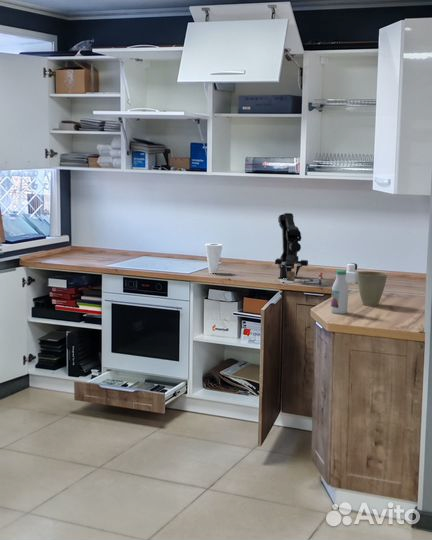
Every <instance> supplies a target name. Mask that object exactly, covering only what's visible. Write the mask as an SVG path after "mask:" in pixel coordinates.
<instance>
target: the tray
mask: <svg viewBox="0 0 432 540" xmlns="http://www.w3.org/2000/svg"><path fill="white" fill-rule="evenodd" d="M302 281H303V280H302V279H297V278H295V281H287V278H286V279H281V278H279V283H280V282H285V283H284V284H286V283H289V284H290V283H291V284H293V283H294V284H295V283H296V282H302Z"/></svg>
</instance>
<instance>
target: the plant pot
mask: <svg viewBox="0 0 432 540" xmlns="http://www.w3.org/2000/svg"><path fill="white" fill-rule="evenodd" d="M387 277H388V274H387V273H386V272H381V271H358V272H357V280H358V282H357V287H358V291H359V295H360V299H361V302H362V305H363V306H367V307H368V306H369V307H376V306H379V304H380V300H381V299H382V296H383V293H384V290H385V286H386V283H387Z"/></svg>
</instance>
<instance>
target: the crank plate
mask: <svg viewBox="0 0 432 540" xmlns="http://www.w3.org/2000/svg"><path fill="white" fill-rule="evenodd" d="M295 283H297V284H303V285H304V284H305V285H308V286H309V285H310V286H314V287H315V286H316V287H323V286H327V285H333V283H331V282H324V281H322V280H321V279H319V283H318V284H308V283H304V280H302V282H295Z"/></svg>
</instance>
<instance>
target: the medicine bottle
mask: <svg viewBox="0 0 432 540" xmlns="http://www.w3.org/2000/svg"><path fill="white" fill-rule="evenodd" d="M345 271H346V276H345V278H346V282H347V284H358V280H357V272H359V271H358V264H357V263H354V262H348V263H347V264H346V270H345Z"/></svg>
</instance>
